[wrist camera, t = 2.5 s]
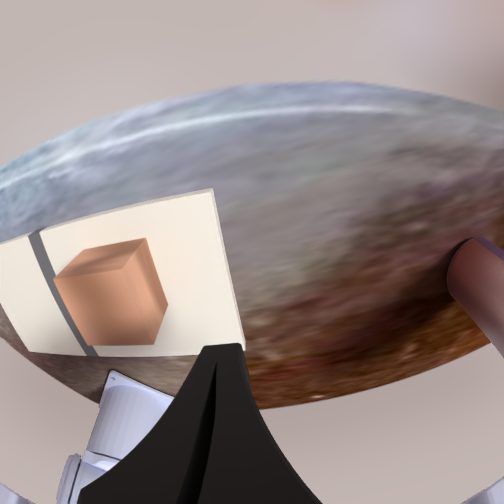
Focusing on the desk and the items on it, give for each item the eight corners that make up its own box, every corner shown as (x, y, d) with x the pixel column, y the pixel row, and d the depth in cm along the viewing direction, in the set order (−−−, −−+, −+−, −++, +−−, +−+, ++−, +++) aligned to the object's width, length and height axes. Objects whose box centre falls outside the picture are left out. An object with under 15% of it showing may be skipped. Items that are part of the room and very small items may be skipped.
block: (145, 237, 16) (121, 269, 13) (168, 304, 18) (153, 344, 15) (83, 249, 16) (53, 279, 13) (108, 309, 19) (87, 345, 15)
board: (212, 188, 16) (210, 191, 15) (245, 341, 21) (245, 350, 20) (-16, 248, 17) (-22, 253, 16) (33, 345, 22) (29, 351, 21)
